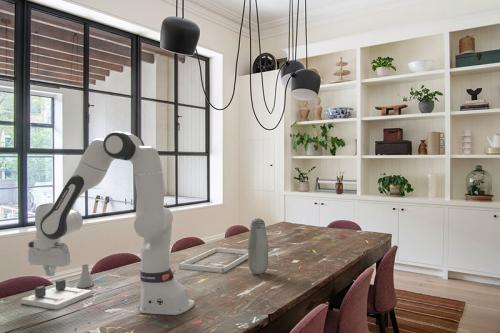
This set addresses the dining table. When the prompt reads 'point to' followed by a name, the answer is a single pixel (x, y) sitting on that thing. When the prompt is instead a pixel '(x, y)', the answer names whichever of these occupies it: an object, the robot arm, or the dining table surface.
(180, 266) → the tray
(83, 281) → the flask
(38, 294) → the block
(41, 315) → the dining table surface
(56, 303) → the plate
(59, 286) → the block
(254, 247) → the grey bottle
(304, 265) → the dining table surface
